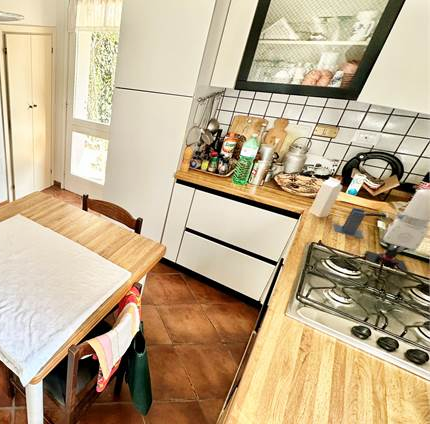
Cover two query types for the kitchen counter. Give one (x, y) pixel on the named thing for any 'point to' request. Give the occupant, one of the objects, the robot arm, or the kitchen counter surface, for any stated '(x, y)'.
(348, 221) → the bracket
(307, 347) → the kitchen counter surface
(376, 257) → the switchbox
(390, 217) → the lever
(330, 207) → the milk
